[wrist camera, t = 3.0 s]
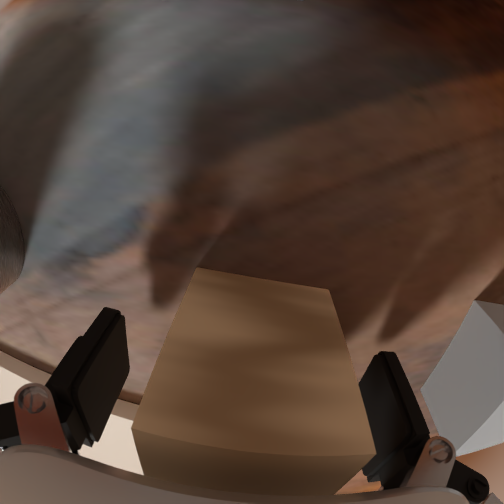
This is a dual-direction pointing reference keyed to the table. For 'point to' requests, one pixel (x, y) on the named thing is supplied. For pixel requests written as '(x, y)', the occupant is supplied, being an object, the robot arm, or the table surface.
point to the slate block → (471, 382)
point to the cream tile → (116, 430)
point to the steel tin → (9, 243)
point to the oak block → (253, 392)
